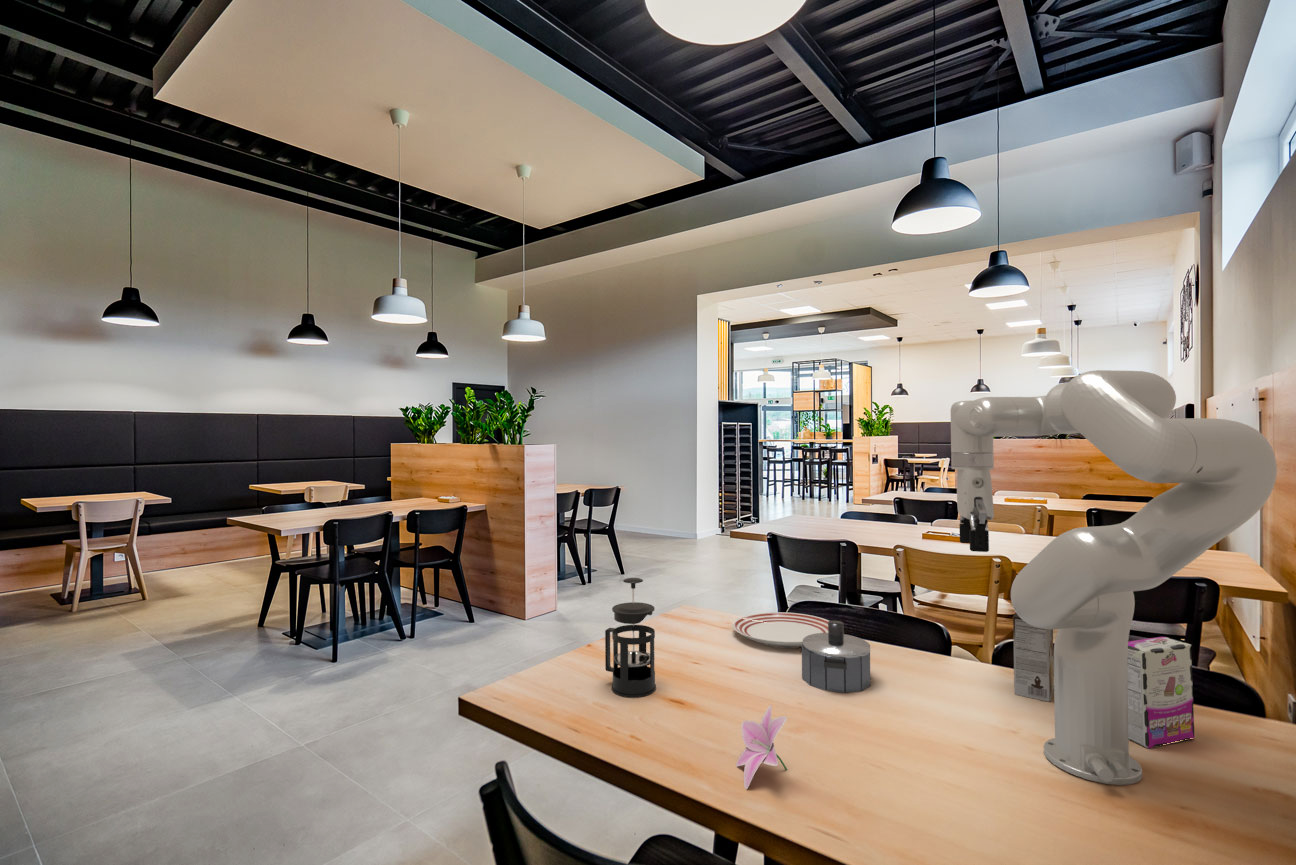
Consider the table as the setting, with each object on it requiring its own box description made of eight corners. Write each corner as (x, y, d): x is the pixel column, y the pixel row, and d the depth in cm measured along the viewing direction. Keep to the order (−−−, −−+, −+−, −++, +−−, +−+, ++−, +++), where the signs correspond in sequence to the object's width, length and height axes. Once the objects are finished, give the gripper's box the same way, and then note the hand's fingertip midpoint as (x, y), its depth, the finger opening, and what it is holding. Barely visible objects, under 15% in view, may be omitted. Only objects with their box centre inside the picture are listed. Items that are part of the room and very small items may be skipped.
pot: (872, 698, 120) (871, 663, 121) (800, 690, 125) (799, 656, 125) (868, 668, 136) (867, 637, 136) (804, 662, 141) (804, 632, 141)
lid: (872, 666, 122) (872, 635, 122) (801, 659, 126) (801, 629, 126) (868, 643, 135) (868, 616, 135) (804, 638, 139) (803, 611, 139)
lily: (746, 752, 102) (721, 707, 101) (811, 735, 99) (786, 689, 97) (742, 815, 91) (714, 766, 90) (816, 799, 87) (787, 747, 86)
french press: (666, 684, 128) (665, 576, 129) (647, 701, 120) (646, 586, 120) (617, 675, 133) (616, 571, 134) (596, 691, 125) (595, 580, 125)
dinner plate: (713, 630, 166) (712, 617, 166) (792, 616, 178) (792, 605, 178) (775, 662, 141) (775, 648, 141) (862, 644, 153) (862, 631, 153)
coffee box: (1018, 680, 129) (1017, 605, 129) (1054, 687, 125) (1053, 610, 125) (1013, 695, 122) (1012, 615, 122) (1051, 703, 118) (1050, 621, 118)
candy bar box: (1163, 726, 108) (1162, 635, 108) (1195, 740, 103) (1194, 644, 103) (1116, 735, 105) (1115, 641, 105) (1147, 749, 100) (1145, 651, 100)
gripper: (1004, 463, 112) (1006, 555, 111) (982, 460, 128) (984, 541, 128) (960, 463, 114) (961, 554, 114) (944, 460, 130) (945, 539, 130)
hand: (973, 547), depth 121 cm, fingers open, 9 cm apart
